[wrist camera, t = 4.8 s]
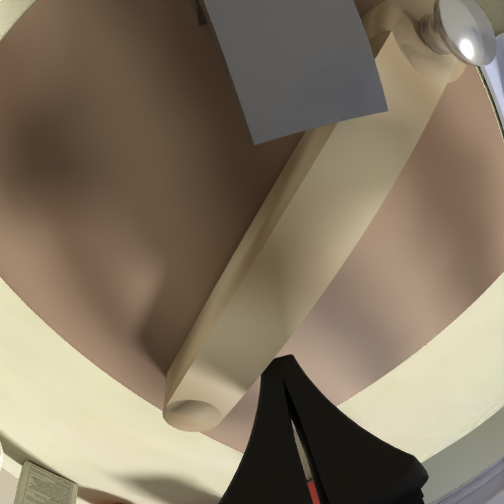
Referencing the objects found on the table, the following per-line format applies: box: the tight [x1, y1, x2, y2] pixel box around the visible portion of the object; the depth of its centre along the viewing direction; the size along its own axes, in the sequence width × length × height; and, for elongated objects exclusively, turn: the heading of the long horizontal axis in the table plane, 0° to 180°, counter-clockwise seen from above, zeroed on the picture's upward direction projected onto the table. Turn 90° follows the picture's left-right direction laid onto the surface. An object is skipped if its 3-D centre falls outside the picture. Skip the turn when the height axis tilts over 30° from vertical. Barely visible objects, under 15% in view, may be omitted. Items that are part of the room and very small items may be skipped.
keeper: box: [190, 0, 388, 145], centre depth 6 cm, size 3×7×4 cm, turn 17°
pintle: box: [419, 0, 497, 66], centre depth 5 cm, size 2×2×2 cm
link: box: [163, 0, 466, 432], centre depth 9 cm, size 19×3×2 cm, turn 150°
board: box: [0, 0, 504, 453], centre depth 10 cm, size 22×24×1 cm
